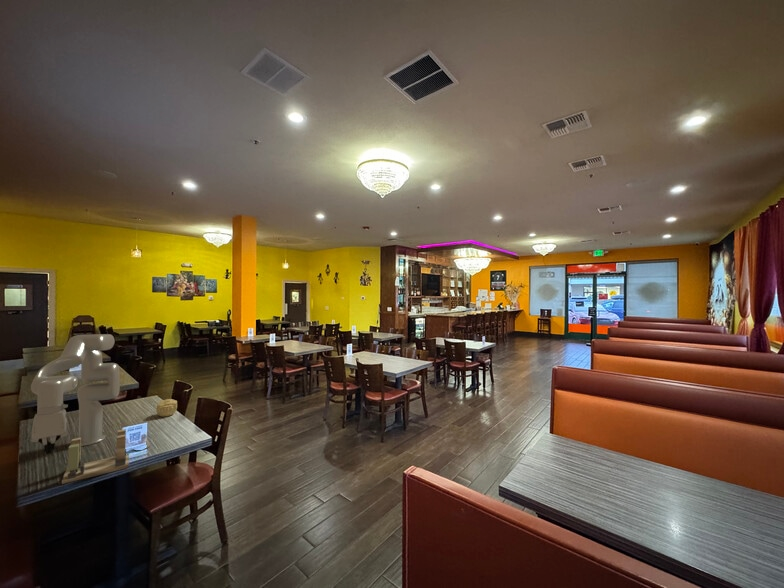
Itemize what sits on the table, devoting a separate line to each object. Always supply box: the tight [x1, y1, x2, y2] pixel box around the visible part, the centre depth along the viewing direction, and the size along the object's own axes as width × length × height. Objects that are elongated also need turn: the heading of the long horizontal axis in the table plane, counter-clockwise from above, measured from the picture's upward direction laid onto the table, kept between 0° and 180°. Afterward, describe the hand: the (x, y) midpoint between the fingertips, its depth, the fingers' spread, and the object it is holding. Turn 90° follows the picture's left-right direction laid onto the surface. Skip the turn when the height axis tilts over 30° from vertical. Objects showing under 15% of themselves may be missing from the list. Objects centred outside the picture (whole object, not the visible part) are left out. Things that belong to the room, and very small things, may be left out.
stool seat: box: [61, 428, 130, 485], centre depth 149 cm, size 14×22×14 cm, turn 129°
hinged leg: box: [67, 444, 79, 473], centre depth 141 cm, size 4×3×13 cm
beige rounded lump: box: [156, 398, 178, 418], centre depth 218 cm, size 11×12×11 cm
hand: (49, 452), depth 137 cm, fingers closed
